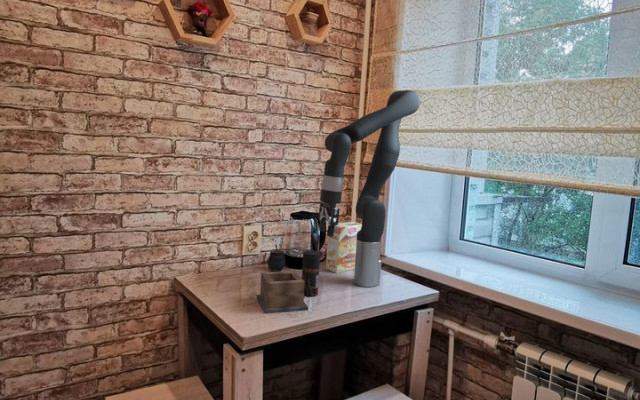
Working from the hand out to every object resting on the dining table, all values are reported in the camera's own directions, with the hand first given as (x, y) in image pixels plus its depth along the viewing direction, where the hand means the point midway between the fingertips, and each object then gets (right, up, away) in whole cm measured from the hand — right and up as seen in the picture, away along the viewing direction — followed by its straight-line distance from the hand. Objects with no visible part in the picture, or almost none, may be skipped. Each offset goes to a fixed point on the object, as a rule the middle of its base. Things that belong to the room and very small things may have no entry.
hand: (325, 233), depth 156 cm
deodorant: (-6, -21, -3) cm, 22 cm away
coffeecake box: (+8, -18, +30) cm, 36 cm away
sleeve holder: (-15, -22, -13) cm, 30 cm away
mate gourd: (-20, -17, +23) cm, 35 cm away
